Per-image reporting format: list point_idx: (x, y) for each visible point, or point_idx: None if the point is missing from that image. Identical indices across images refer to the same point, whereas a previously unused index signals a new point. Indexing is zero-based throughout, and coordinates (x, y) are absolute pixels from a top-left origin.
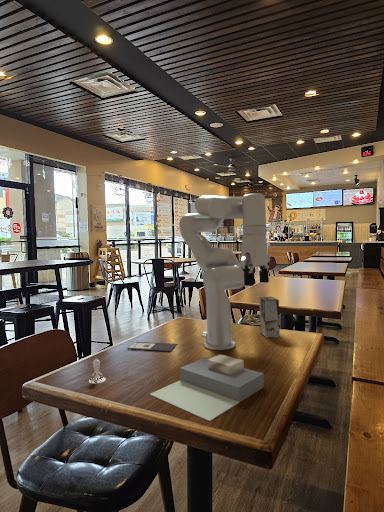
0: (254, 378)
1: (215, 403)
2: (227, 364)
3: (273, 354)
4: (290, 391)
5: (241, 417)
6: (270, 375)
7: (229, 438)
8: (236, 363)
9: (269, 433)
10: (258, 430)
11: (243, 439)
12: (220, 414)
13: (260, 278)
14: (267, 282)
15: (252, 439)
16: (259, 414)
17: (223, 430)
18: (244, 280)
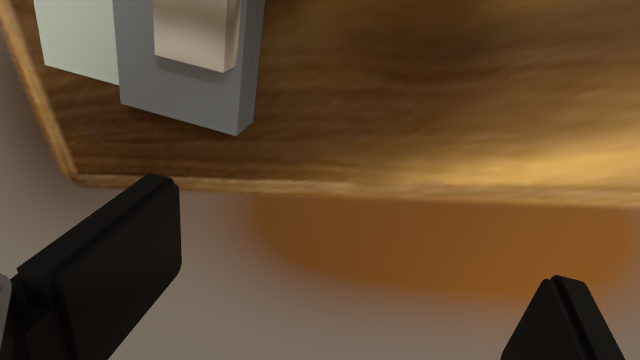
0: (191, 122)
1: (101, 40)
2: (158, 34)
3: (577, 67)
4: (266, 185)
5: (103, 118)
6: (340, 116)
7: (40, 123)
8: (185, 60)
9: (98, 179)
10: (92, 160)
11: (55, 145)
12: (80, 73)
13: (553, 327)
14: (507, 356)
15: (66, 158)
16: (135, 148)
17: (47, 104)
18: (112, 205)
